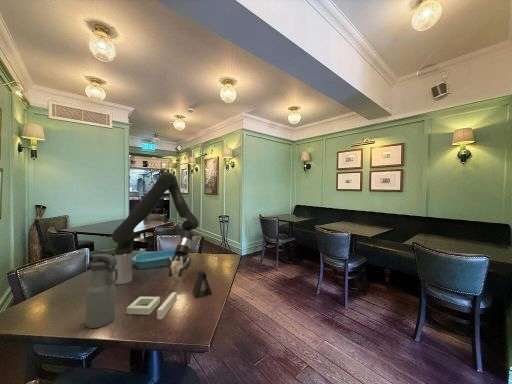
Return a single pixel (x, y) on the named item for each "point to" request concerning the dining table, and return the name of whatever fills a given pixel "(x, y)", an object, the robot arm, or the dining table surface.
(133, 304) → the pale green square frame
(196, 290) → the phone stand
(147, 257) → the casserole dish
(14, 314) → the dining table surface
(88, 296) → the water bottle
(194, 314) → the dining table surface
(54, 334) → the dining table surface
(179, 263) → the dowel
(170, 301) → the backstop wall
